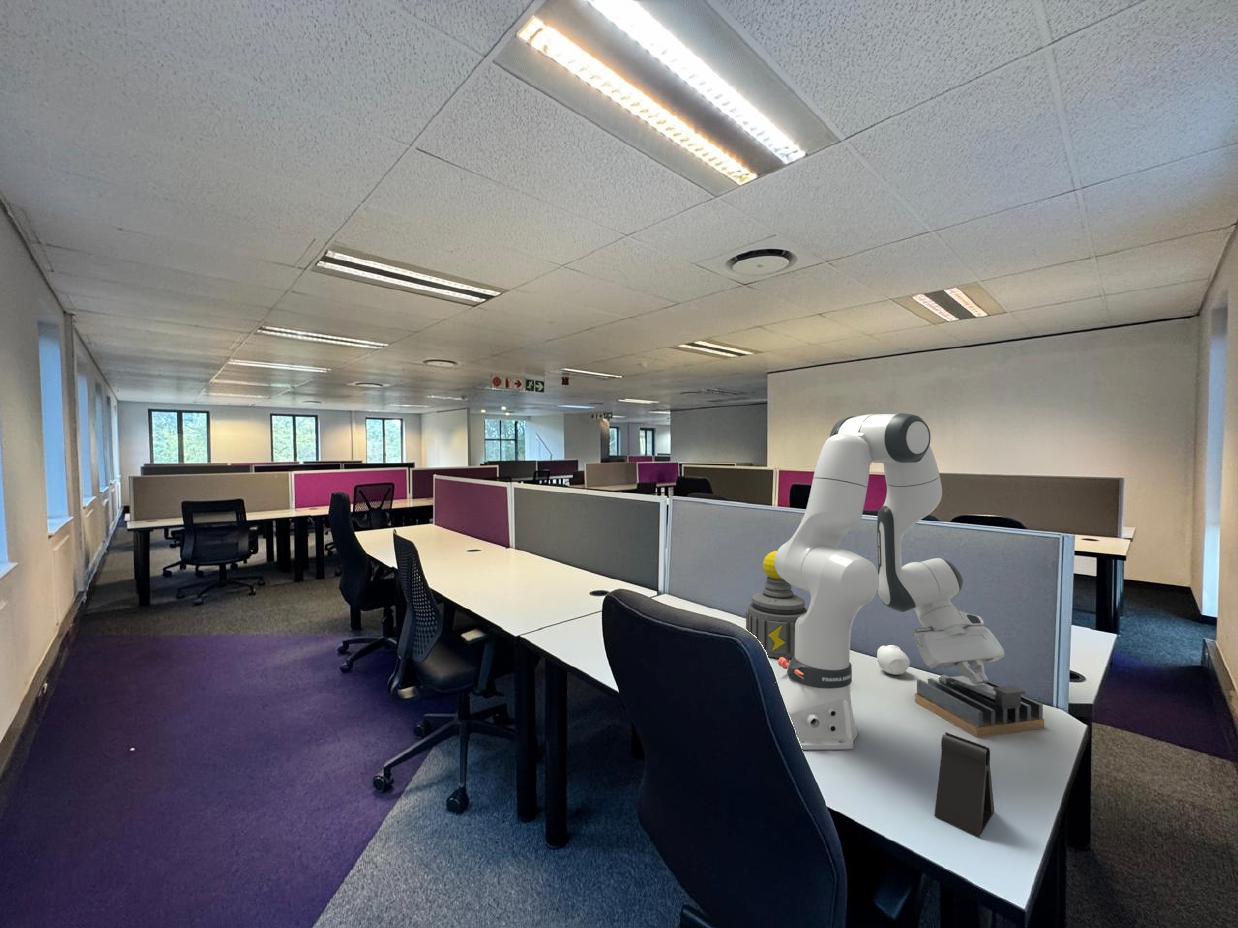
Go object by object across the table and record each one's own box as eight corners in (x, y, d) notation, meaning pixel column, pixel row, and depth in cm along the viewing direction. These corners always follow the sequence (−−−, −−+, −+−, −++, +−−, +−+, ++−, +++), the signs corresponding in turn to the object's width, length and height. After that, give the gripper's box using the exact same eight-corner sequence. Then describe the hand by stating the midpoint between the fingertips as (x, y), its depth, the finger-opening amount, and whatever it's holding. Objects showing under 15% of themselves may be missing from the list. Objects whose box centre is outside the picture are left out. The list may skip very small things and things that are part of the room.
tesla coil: (747, 634, 165) (748, 544, 165) (808, 641, 159) (809, 547, 159) (743, 655, 147) (744, 554, 147) (811, 664, 141) (813, 558, 141)
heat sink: (980, 739, 103) (981, 696, 103) (914, 701, 119) (915, 664, 119) (1048, 730, 107) (1049, 688, 107) (976, 694, 123) (976, 658, 123)
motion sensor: (915, 676, 134) (915, 648, 134) (896, 681, 130) (896, 652, 130) (888, 665, 141) (888, 638, 141) (869, 670, 138) (870, 642, 138)
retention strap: (993, 699, 107) (993, 694, 107) (947, 680, 118) (947, 676, 119) (1010, 697, 108) (1010, 692, 108) (963, 679, 119) (963, 674, 120)
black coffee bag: (952, 793, 86) (953, 723, 86) (994, 811, 82) (995, 738, 82) (934, 816, 80) (934, 742, 80) (978, 838, 76) (979, 759, 76)
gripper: (916, 622, 118) (952, 682, 108) (986, 616, 122) (1026, 672, 113) (901, 634, 122) (935, 693, 113) (969, 628, 127) (1006, 683, 117)
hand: (981, 682), depth 113 cm, fingers closed, pressing on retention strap
